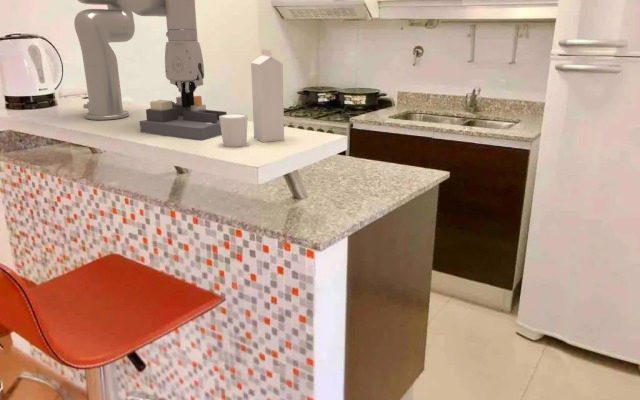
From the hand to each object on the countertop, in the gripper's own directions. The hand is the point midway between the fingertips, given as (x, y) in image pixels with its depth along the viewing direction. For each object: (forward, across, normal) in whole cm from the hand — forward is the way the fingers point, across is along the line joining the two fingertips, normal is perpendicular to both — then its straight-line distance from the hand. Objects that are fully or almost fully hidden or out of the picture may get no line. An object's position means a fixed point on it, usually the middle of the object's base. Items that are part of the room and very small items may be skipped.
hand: (188, 106), depth 146 cm
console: (+6, +2, 0) cm, 6 cm away
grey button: (+2, -5, +5) cm, 7 cm away
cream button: (+2, -5, -5) cm, 7 cm away
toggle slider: (+3, +4, 0) cm, 5 cm away
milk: (+7, +26, 0) cm, 27 cm away
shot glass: (+7, +22, -9) cm, 25 cm away
